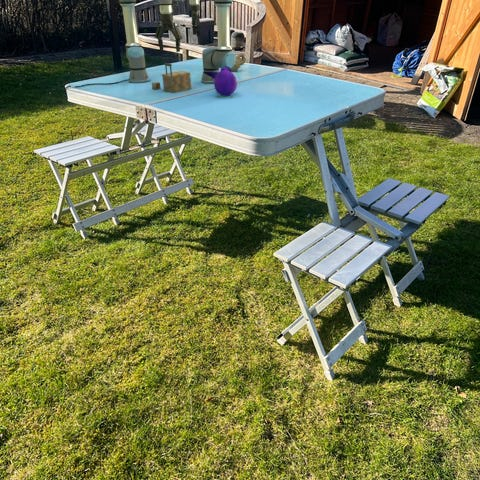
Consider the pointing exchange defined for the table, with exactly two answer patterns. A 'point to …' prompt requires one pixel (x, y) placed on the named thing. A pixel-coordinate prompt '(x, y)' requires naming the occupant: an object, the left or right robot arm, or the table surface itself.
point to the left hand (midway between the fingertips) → (196, 35)
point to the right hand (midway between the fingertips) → (169, 51)
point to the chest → (177, 83)
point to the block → (156, 85)
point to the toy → (224, 81)
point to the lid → (174, 74)
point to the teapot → (238, 62)
